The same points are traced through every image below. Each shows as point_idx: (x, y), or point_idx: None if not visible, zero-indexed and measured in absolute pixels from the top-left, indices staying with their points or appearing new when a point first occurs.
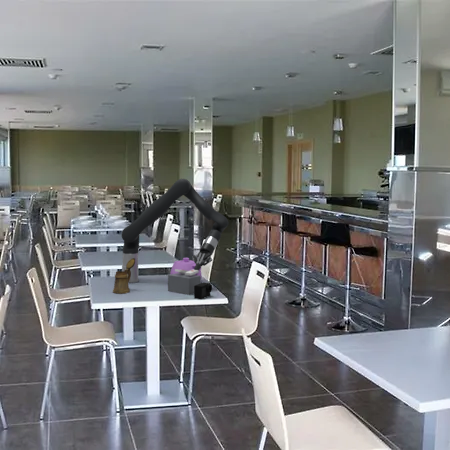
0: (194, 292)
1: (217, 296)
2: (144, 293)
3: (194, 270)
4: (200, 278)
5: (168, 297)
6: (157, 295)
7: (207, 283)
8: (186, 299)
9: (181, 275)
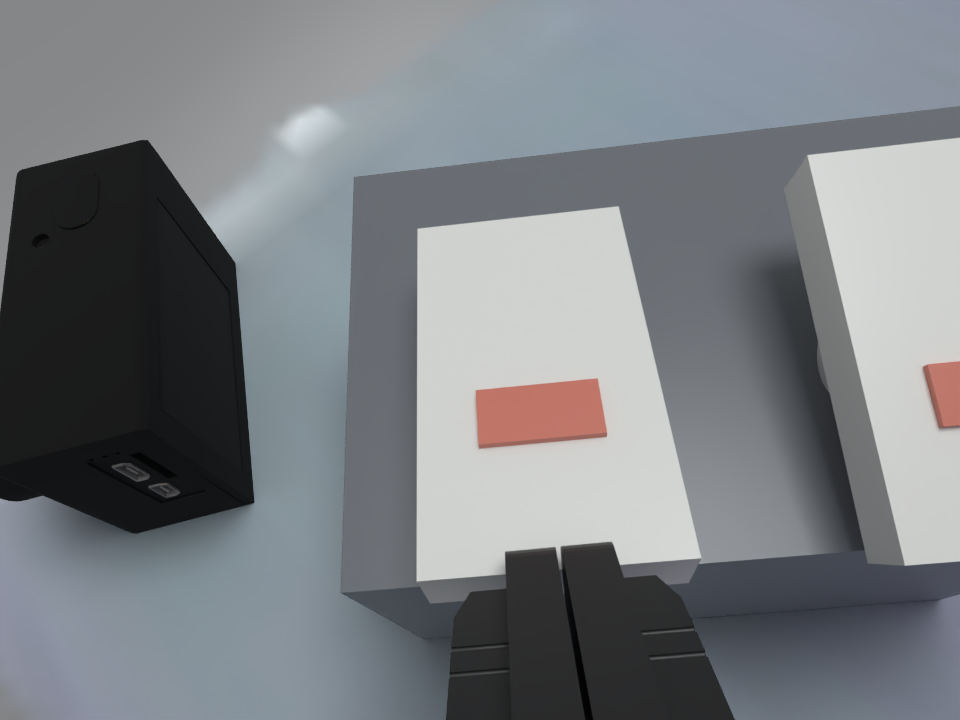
0: (194, 213)
1: (4, 570)
2: (881, 44)
3: (534, 488)
4: (362, 601)
5: (508, 105)
6: (682, 82)
7: (19, 400)
8: (278, 174)
9: (738, 266)
